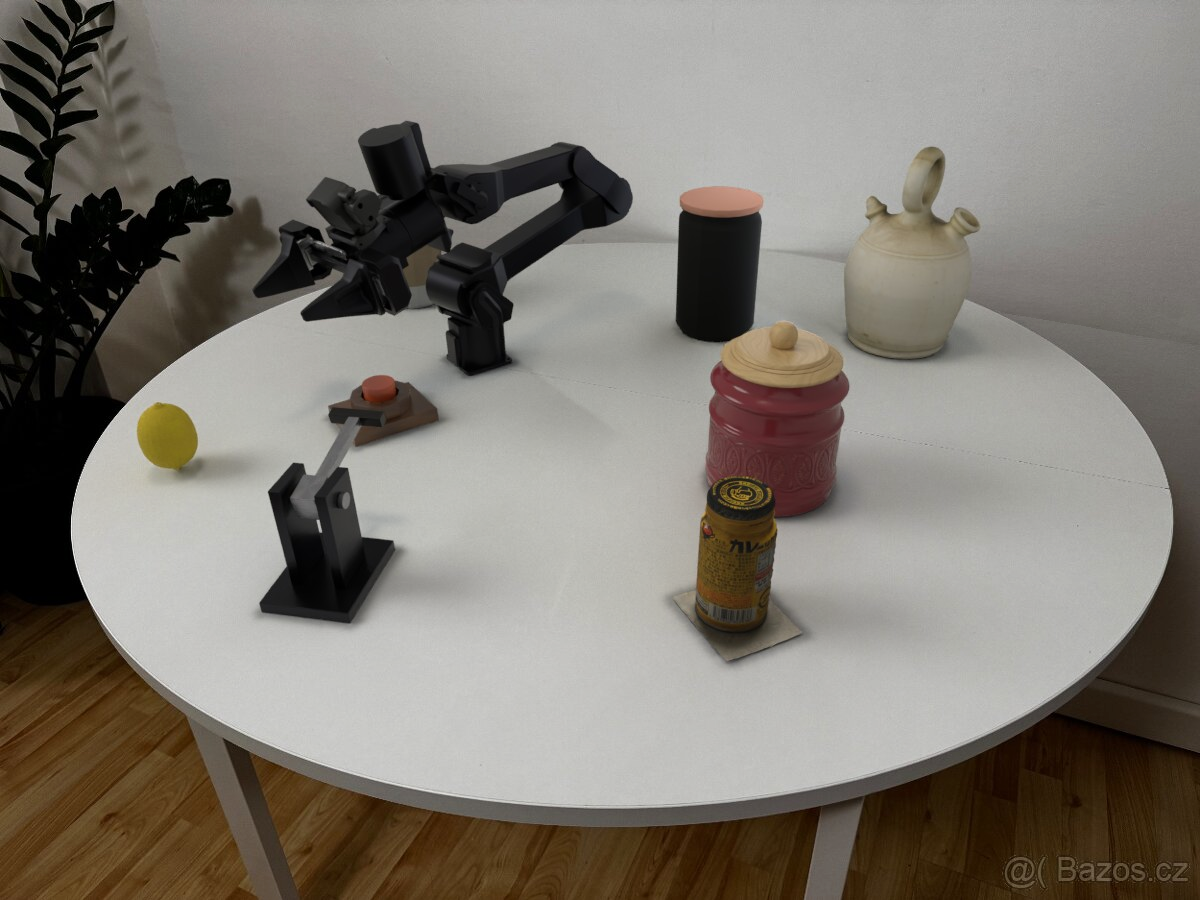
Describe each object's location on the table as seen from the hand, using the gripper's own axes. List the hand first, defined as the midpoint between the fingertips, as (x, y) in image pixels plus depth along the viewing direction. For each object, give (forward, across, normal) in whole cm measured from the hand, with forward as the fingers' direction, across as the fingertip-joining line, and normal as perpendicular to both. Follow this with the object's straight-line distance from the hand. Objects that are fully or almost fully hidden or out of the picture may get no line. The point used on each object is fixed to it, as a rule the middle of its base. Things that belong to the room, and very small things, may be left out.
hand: (277, 305), depth 91 cm
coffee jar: (-48, +17, +28) cm, 58 cm away
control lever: (+9, +21, +5) cm, 23 cm away
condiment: (-4, +52, +18) cm, 55 cm away
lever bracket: (+15, +23, +13) cm, 30 cm away
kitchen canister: (-22, +43, +22) cm, 53 cm away
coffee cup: (-28, -23, +23) cm, 43 cm away
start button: (-5, +3, +14) cm, 16 cm away
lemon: (+16, -5, +13) cm, 21 cm away
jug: (-60, +37, +31) cm, 77 cm away
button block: (-4, +3, +17) cm, 18 cm away
